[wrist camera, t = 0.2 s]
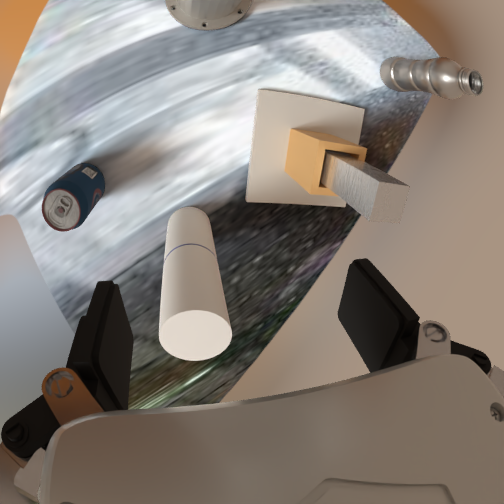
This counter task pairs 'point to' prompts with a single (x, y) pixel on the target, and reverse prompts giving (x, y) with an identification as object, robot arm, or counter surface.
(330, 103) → the stand base
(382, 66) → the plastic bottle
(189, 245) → the cylindrical container
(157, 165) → the counter surface
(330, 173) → the steel column
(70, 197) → the soda can
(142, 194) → the counter surface
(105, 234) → the counter surface
